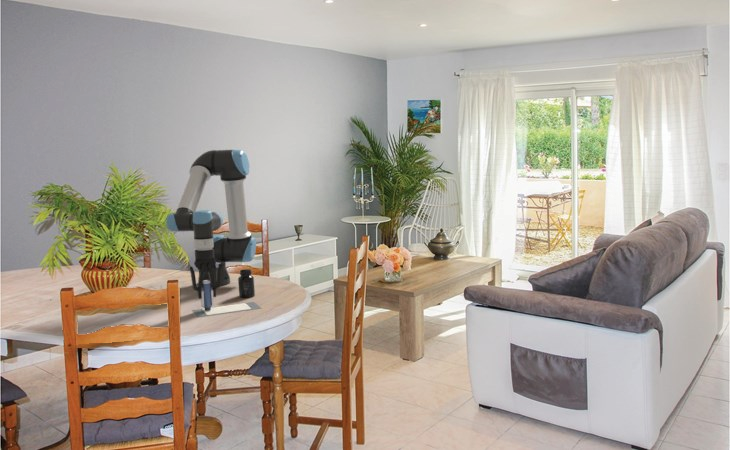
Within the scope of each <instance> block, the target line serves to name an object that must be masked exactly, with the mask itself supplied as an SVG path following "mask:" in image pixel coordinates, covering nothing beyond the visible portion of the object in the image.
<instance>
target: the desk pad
mask: <svg viewBox="0 0 730 450" xmlns="http://www.w3.org/2000/svg"><path fill="white" fill-rule="evenodd" d="M245 303H246V304H247V305H248V306H249V307H250V308H251V309H249V310H242V311H235V312H228V313H221V314H214V315H206V313H205V312H204V311H203V310H202V309H203V308H198V309H191V311H192V313H193V314H194V315H195V317H196V318H197V319H198V318H205V317H210V316H211V317H212V316H217V315H218V316H219V315H227V314H233V313H234V314H235V313H239V312H247V311H253V310H255V311H256V310H259V309H262V307H261V306H260V305H258V304H257V303H256V302H255V301H249V302H245ZM235 304H236V303H235ZM235 304H233V305H235ZM240 304H242V303H240ZM226 306H228V305H226ZM213 307H214V306H212V307H211V308H213ZM218 307H221V306H218Z"/></svg>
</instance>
